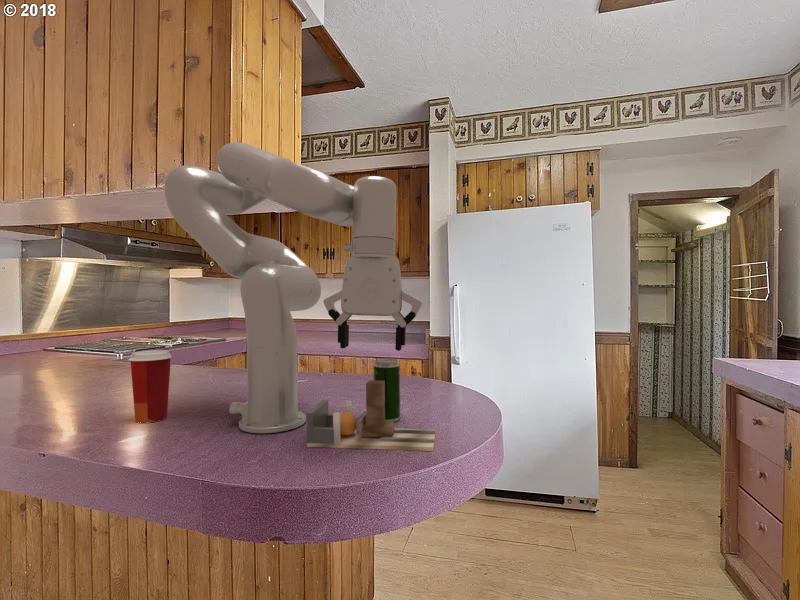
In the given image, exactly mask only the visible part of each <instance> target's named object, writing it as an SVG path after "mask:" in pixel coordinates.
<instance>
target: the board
mask: <svg viewBox="0 0 800 600" xmlns="http://www.w3.org/2000/svg"><path fill="white" fill-rule="evenodd" d="M435 439H436V429H427V428H425V429H424V428H396V427H394V434H393V436H392V437H368V436H363V435H362V436H361V437H356V430H355V432H354V433H352V434H351V435H348V436H343V435H341V443H340V444H316V443H307V442H306V447H308V448H332V449H334V448H335V449H337V448H338V449H360V450H361V449H365V450H392V451H393V450H394V451H421V452H422V451H424V452H434V449H435Z"/></svg>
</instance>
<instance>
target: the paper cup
mask: <svg viewBox="0 0 800 600" xmlns="http://www.w3.org/2000/svg"><path fill="white" fill-rule="evenodd" d="M171 358H173V356H172V354H171V353H170V350H167V349H166V350H165V349H161V350H160V349H153V350H142V351H136V352H135V351H133V352H132V353H131V355H130V357H129V358H128V359H127V361H130V370H131V372H130V373H131V383H132V396H133V398H132V399H133V410H134V411H133V413H134V421H135V423H137V422H139V423H138V424H147V423H146V422H152V423H155V422H154V421H157V422H159V421H158V420H161V421H163V420H162V419H164V418H166V417H168V407H169V406H168V405H169V391H170V390H169V388H170V377H171V376H170V374H171ZM166 419H167V418H166ZM164 420H165V419H164ZM140 422H141V423H140Z"/></svg>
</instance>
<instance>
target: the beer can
mask: <svg viewBox="0 0 800 600" xmlns="http://www.w3.org/2000/svg"><path fill="white" fill-rule="evenodd" d="M399 361H400V360H398V359H395V358H381V359H379V358H378V359H374V364H373V366H372V367H373V368H372V369H373V372H372V373H373V380H376V381H385V422H394V423H396V422H398V421H399V420H400V418H401V372H400V371H401V368H400V367H401V365H400V363H399Z"/></svg>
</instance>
